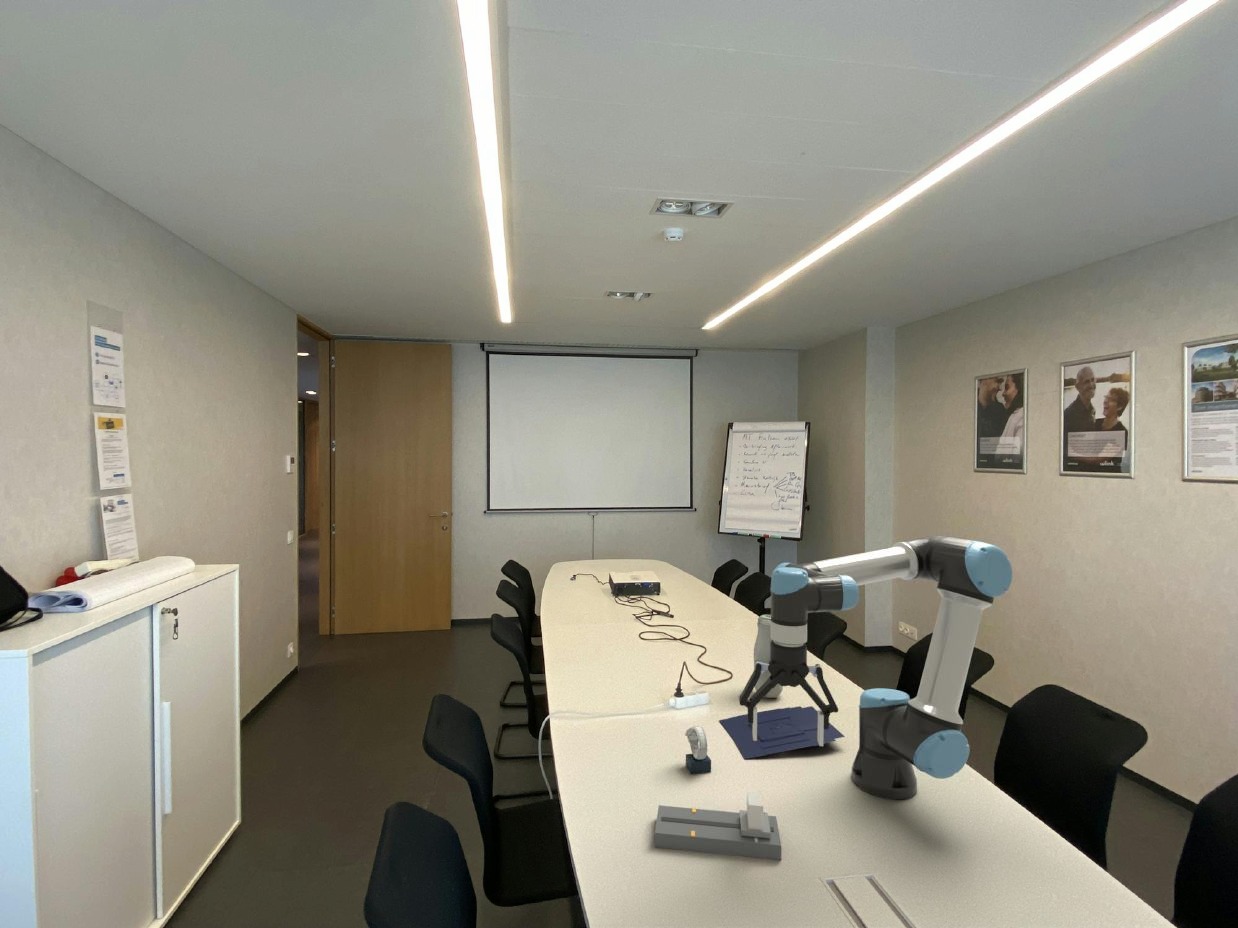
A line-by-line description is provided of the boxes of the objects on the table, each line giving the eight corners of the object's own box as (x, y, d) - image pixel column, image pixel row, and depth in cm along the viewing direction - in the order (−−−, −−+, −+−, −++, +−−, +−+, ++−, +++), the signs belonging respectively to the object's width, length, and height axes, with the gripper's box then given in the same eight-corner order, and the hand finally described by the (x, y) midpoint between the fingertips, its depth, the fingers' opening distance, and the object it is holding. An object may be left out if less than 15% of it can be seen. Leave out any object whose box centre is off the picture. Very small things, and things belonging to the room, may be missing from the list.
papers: (849, 749, 166) (848, 736, 166) (746, 769, 162) (744, 755, 162) (810, 711, 190) (809, 700, 190) (719, 728, 186) (718, 716, 186)
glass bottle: (780, 690, 209) (780, 611, 209) (785, 703, 199) (786, 619, 199) (751, 689, 210) (752, 610, 210) (755, 701, 200) (755, 618, 200)
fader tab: (767, 817, 131) (767, 789, 131) (770, 838, 124) (770, 808, 124) (739, 815, 132) (739, 787, 132) (741, 835, 125) (741, 805, 125)
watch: (702, 759, 162) (703, 719, 162) (713, 775, 154) (713, 733, 154) (683, 762, 161) (683, 721, 161) (692, 777, 153) (693, 735, 153)
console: (775, 829, 132) (776, 815, 132) (781, 859, 122) (781, 844, 122) (658, 818, 136) (658, 804, 136) (654, 846, 126) (654, 831, 126)
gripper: (846, 639, 129) (844, 737, 129) (728, 632, 133) (727, 727, 133) (854, 650, 121) (852, 754, 122) (729, 643, 125) (728, 743, 126)
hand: (787, 740), depth 127 cm, fingers open, 13 cm apart
